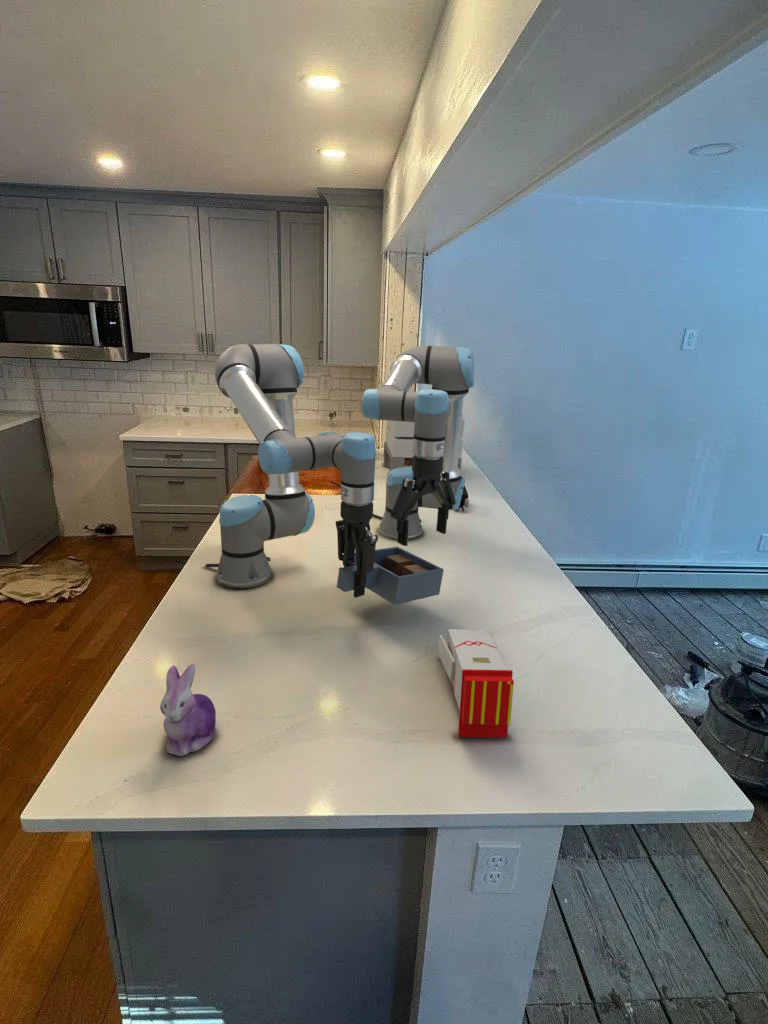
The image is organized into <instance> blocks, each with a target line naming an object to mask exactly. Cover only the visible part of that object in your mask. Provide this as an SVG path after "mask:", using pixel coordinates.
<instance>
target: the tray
mask: <svg viewBox="0 0 768 1024" xmlns="http://www.w3.org/2000/svg"><path fill="white" fill-rule="evenodd" d="M396 554H400V555H402V556H404V557H407V558H409V559H411V560H412V563H411V565H416V564H418V565H420V566H422V567H424V568H425V569H427V570H429V571H424V572H419V573H414V574H409V575H403V576H398V575H396V574H394V573H392V572H390V571H389V570H387V569H385V568H384V565H385V559H386V556H390V555H396ZM354 560H355V561H356V552H355V555H354ZM352 564H355V566H348V567H344V566H343V567H339V568H338V574H337V583H336V588H337V589H338V590H341V591H342V592H343V593H347V591H348V592H352V591H354V572H355V571H357V565H356V562H355V563H352ZM444 570H445V569H444V568H442V567H440V566H438V565H436V564H434V563H432V562H431V561H428V560H426V559H424V558H422V557H420V556H418V555H416V554H414V553H412V552H409V551H408V550H405V549H404V548H401V547H399V546H392V547H385V548H378V549H375V556H374V566H373V571H372V572H369V573H366V584H365V589H367V590H369V591H370V592H372V593H374V594H376V595H377V596H379V597H380V598H382V599H384V600H385V601H387V602H389V603H390V604H392V605H394V606H396V605H400V604H401V605H402V604H405V603H409V602H413V601H418V600H421V599H426V598H430V597H434V596H439V595H440V592H441V586H442V582H443V581H442V580H443V576H444Z"/></svg>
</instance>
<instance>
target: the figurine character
mask: <svg viewBox="0 0 768 1024" xmlns="http://www.w3.org/2000/svg"><path fill="white" fill-rule="evenodd" d="M469 505H470V500H469V492H468V490H467V488H466V485H464V488H463V493H462V497H461V501H460V505H459V508H458V509H461V511H462V512H464V511H465V508H469ZM458 509H456V510H455V511H456V512H457V511H458Z"/></svg>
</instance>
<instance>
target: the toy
mask: <svg viewBox="0 0 768 1024" xmlns="http://www.w3.org/2000/svg"><path fill="white" fill-rule="evenodd" d="M446 640H447V643H446V641H445V639H444V636H443V635H442V634H439V637H438V646H437V656H438V657H439V659H440V661H441V663H442V666H443V668H444V670H445V672H446V674H447V677H448V679H449V681H450V684H451V687H452V690H453V693H454V697H455V701H456V705H457V708H458V711H459V714H458V715H459V716H458V730H457V731H458V732H457V737H458V738H508V731H509V726H510V725H511V717H512V707H513V697H514V696H513V695H514V684H515V680H514V679H513V673H514V671H513V670H512V669H508V667H507V665H506V662H505V661H504V659H503V658H502V655H501V653H500V651H499V649H498V647H497V643H496V639H495V637H494V635H493V634H491V632H490V631H489V629H467V628H466V629H465V628H463V629H461V628H460V629H459V628H448V630H447V639H446Z"/></svg>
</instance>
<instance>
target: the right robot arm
mask: <svg viewBox="0 0 768 1024" xmlns="http://www.w3.org/2000/svg"><path fill="white" fill-rule="evenodd" d="M474 360H475V359H474V352H473V350H472V349H471V348H467V347H460V346H448V345H447V346H445V345H417V346H413V347H411V348H407V349H406V350H404V351H402V352H400V353H399V354H397V356H396V357H395V358H394V359H393V360H392V362H391V364H390V368H389V373H388V374H387V376H386V377H385V379H384V380H383V382H381V385H380V386H379V388H367V389H366V390H364V392H363V395H362V401H361V411H362V415H363V417H364V418H366V419H371V420H376V421H386V420H390V421H405V422H415V425H414V439H413V454H414V456H413V457H412V466H404V467H400V468H396V469H393V470H391V471H390V470H389V472H388V473H387V475H386V482H385V504H384V505H385V507H384V508H385V509H384V513H383V515H382V516H380V515H377V514H374V513H373V517H374V518H377V519H379V520H381V522H379V527H378V533H379V534H380V535H381V536H382V537H385V538H387V539H389V540H395V541H397V544H399V545H401V546H404V547H408V541H410V540H415V539H418V538H420V537H421V536H422V535H423V525H422V524H421V523H422V519H421V518H420V515H419V508H427V509H435V510H437V517H436V518H437V519H436V528H435V531H436V532H438V533H440V534H442V535H446V534H447V524H448V519H449V512H450V511H456V509H457V510H458V509H460V508H459V505H460V501H461V497H462V493H463V488H464V486H465V483H466V477H465V476H462V469H461V470H460V469H459V468H458V456H459V444H460V439H461V438H460V432H461V420H462V419H463V408H464V407H463V406H464V398H465V397H466V396H467V395H468V394H469V392H470V389H471V388H473V387H474V386H475V361H474ZM415 384H420V385H431V388H426V389H419V390H418V391H411V389H412V387H413V386H415ZM329 483H330V484H333V485H335V486H337V487H339V488H341V484H339V483H337V482H335V481H332V480H329Z"/></svg>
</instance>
